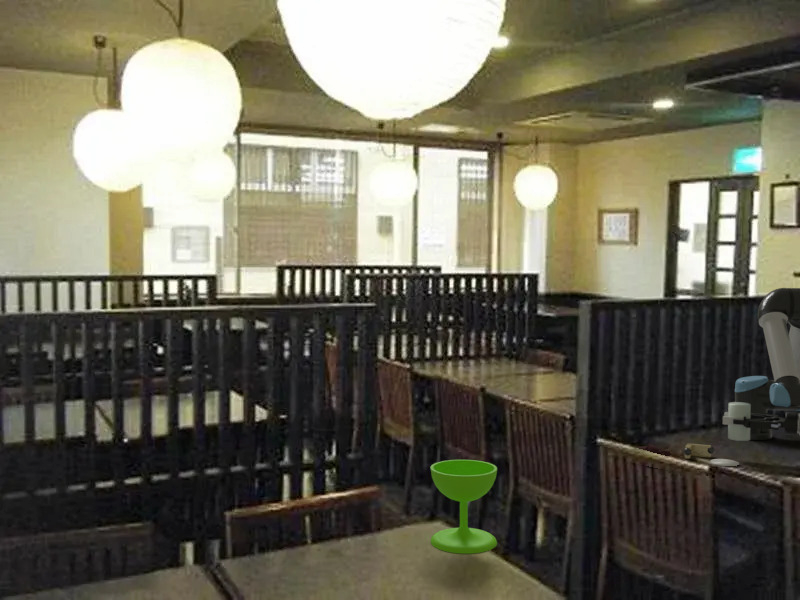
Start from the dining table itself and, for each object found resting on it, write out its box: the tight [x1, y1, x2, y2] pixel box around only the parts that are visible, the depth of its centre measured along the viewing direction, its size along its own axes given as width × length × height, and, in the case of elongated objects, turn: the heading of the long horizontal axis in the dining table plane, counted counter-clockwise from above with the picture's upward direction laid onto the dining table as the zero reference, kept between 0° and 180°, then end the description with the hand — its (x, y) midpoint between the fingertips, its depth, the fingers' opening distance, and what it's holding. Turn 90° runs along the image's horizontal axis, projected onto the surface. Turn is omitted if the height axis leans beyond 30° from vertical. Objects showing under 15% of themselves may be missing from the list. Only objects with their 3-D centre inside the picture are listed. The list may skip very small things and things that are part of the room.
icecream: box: [635, 443, 671, 457], centre depth 264 cm, size 7×7×15 cm
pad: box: [709, 458, 740, 467], centre depth 263 cm, size 9×9×1 cm
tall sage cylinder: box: [727, 401, 751, 442], centre depth 268 cm, size 7×7×12 cm
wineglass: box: [430, 459, 498, 555], centre depth 188 cm, size 16×16×18 cm
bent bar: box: [683, 442, 716, 460], centre depth 272 cm, size 9×10×4 cm
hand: (723, 418), depth 270 cm, fingers closed on tall sage cylinder, 7 cm apart
